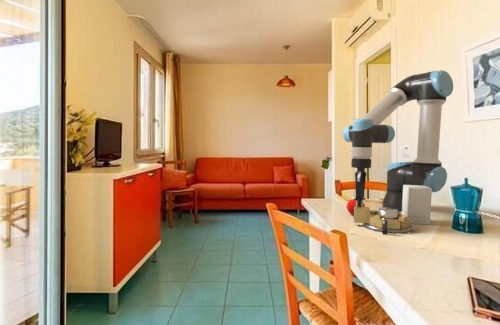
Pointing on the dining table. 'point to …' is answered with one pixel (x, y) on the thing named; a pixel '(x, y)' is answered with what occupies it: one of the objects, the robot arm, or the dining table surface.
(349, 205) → the apple
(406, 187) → the supplement box
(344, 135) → the robot arm
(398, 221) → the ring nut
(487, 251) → the dining table surface
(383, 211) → the hub base
